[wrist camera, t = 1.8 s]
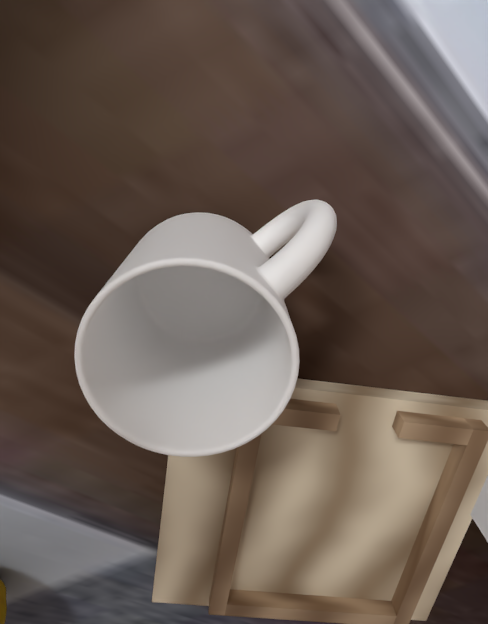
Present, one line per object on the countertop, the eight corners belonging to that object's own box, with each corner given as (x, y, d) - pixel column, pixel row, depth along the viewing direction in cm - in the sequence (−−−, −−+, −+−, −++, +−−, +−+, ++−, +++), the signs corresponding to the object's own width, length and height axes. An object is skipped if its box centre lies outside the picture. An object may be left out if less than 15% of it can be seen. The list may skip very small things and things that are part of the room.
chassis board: (154, 587, 35) (149, 617, 33) (179, 364, 28) (175, 384, 26) (419, 606, 37) (432, 636, 35) (508, 403, 30) (530, 424, 28)
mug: (265, 129, 23) (292, 128, 14) (353, 250, 26) (428, 321, 16) (99, 271, 26) (24, 355, 16) (195, 369, 28) (179, 491, 19)
